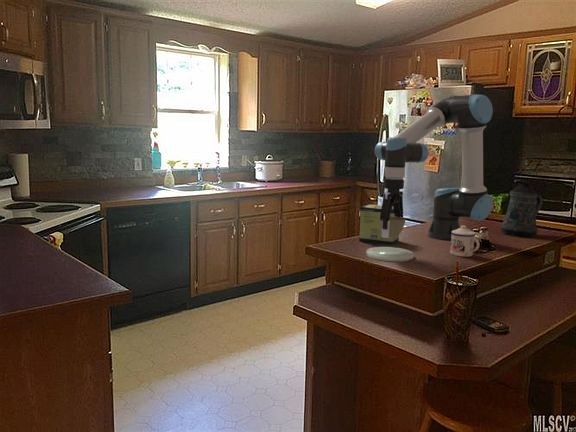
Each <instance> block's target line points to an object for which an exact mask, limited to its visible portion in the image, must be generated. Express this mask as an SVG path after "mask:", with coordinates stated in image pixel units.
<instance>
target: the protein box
mask: <svg viewBox="0 0 576 432" xmlns="http://www.w3.org/2000/svg"><path fill="white" fill-rule="evenodd" d="M381 208H382V204H381V205H380V204H364V205H363V206H362V205H361V206H360V214H359V215H360V216H359V217H360V218H359V236H358V241H359V242H363V243H371V244H380V245H381V244H382V245H388V246H393V245H395V244H396V243H397V242H399V236H400V235H399V236H398V237H389V238H383V237H381V236H382V229H381V226H380V221H379V217H380V214H381ZM390 216H393V217H395V215H394V209H393V207H392V211H391V214H390Z"/></svg>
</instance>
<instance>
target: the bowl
mask: <svg viewBox="0 0 576 432" xmlns="http://www.w3.org/2000/svg"><path fill="white" fill-rule="evenodd" d="M379 221H380V226H381V229H382V220H380V217H379ZM389 221H390V228H389V237H398V236H400V235H401V233H402V231H403V229H404V227H405V223H406V221H407V219H406V218H404V217H403V218H402V217H393V216H390V218H389Z"/></svg>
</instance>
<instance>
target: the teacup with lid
mask: <svg viewBox="0 0 576 432" xmlns="http://www.w3.org/2000/svg"><path fill="white" fill-rule="evenodd" d="M451 234H452V237H451V240H450V250H449V252H450V254H451V255H453V256H456V257H460V258H461V257H462V258H463V257H464V258H465V257H467V258H468V257H472V256H474V252H476V251H478V250H479V248H480V241H479V239H476V238H475V236H476V234H475V232H474V231H473V230H470V229H468V228H467V226H466V225H460V228H459V229H457V230H453V231H452V232H451ZM475 244H476V246H474V245H475ZM474 247H475V248H474Z"/></svg>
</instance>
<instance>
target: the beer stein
mask: <svg viewBox="0 0 576 432" xmlns="http://www.w3.org/2000/svg"><path fill="white" fill-rule="evenodd" d="M509 196H510V199H509V203H508V207H507V210H506V213H505V216H504V219H503V221H502V223H501V225H500V230H501V234H502V233H503V234H502V235H505V234H506V235H505V236H508V235H511V236H510V237H514V236H518V237H517V238H535V237H537V234H538V231H539V229H538V227H537V217H536V216H537V215H538V213H539V212H540V210H541V208H542V205H543V198H542V195H541V193H539V188H537V187H535V186H532V185H531V183H528V182H527V183H522V182H521V183H519V184H518V186H516V187H514V188H513V189H511V190H510V191H509Z"/></svg>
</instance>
